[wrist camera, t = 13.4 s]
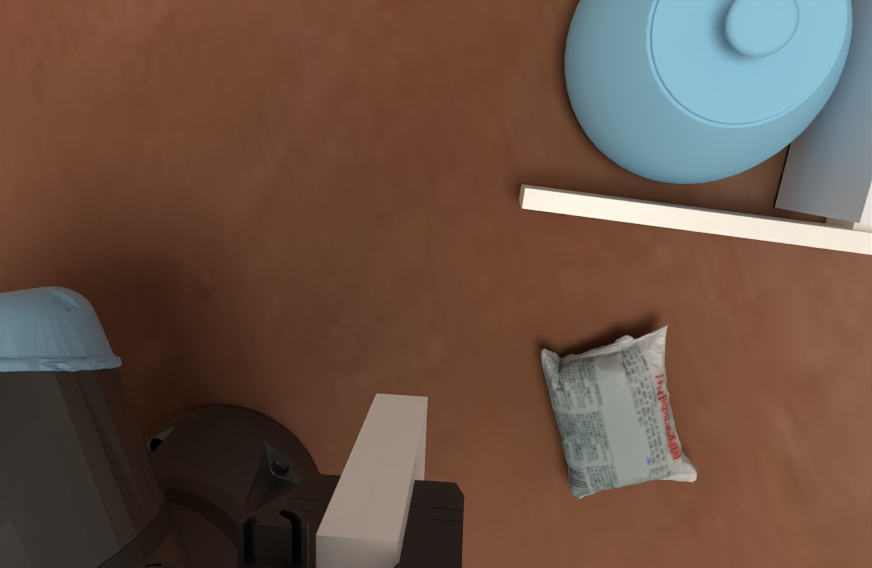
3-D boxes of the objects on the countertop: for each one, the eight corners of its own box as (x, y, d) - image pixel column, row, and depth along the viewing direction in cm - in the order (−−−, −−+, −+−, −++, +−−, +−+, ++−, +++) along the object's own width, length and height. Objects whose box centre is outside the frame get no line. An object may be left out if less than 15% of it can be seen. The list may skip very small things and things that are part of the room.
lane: (518, 201, 39) (521, 208, 35) (571, -138, 35) (583, -186, 30) (839, 244, 38) (889, 257, 33) (937, -105, 33) (1013, -149, 29)
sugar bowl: (699, -129, 34) (799, -267, 23) (860, 60, 36) (1029, 15, 24) (512, 62, 38) (520, 22, 26) (666, 228, 39) (735, 258, 28)
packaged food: (658, 314, 40) (679, 335, 36) (688, 466, 42) (711, 506, 38) (534, 340, 42) (538, 364, 37) (569, 486, 44) (577, 527, 39)
